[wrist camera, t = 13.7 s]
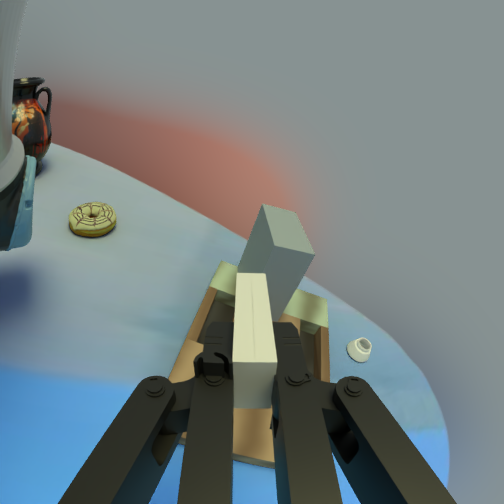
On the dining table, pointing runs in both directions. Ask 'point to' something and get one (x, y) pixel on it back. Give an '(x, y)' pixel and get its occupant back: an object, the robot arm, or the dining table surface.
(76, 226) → the decorated donut
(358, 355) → the white jar
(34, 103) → the amphora vase
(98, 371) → the dining table surface
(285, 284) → the grey block
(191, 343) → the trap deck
